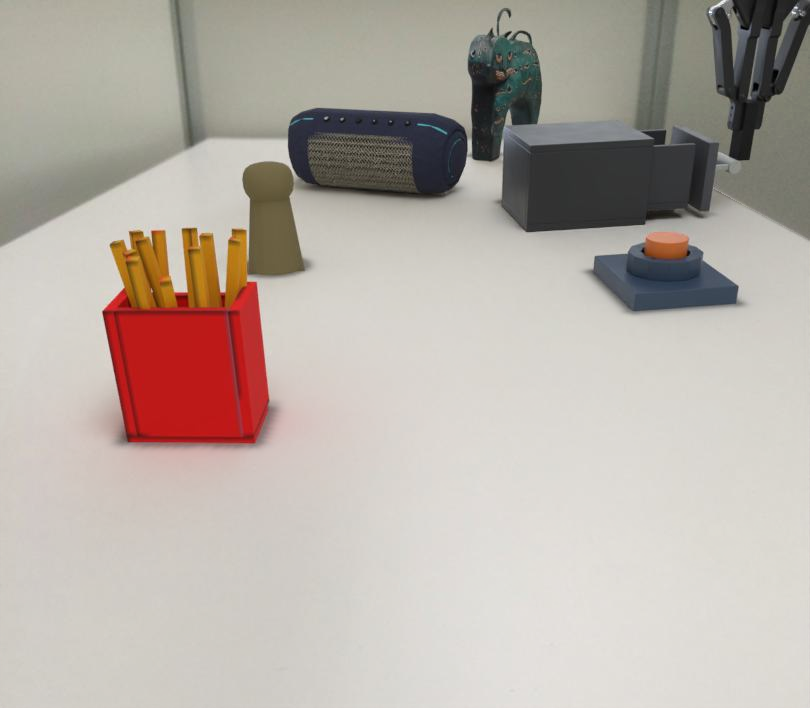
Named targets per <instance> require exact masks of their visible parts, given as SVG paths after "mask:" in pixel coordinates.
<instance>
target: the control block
mask: <svg viewBox="0 0 810 708" xmlns="http://www.w3.org/2000/svg"><path fill="white" fill-rule="evenodd" d="M644 250H645V241H644V242H640V243H638V244H634V245H631V246H630V248H629V249H628V251H627V253H617V254H616V253H615V254H601V255H600V254H599V255H594V259H593V270H592V273H593V274H594V275H595V276H596V277H597V278H598V279H599V280H600V281H601V282H602V283H604V285H605V286H606V287H608V288H609V289H610V291H612V292H613V293H614V294H615V295H616V296H617V297H618V298H619V299H620V301H622V302H623V303H624V304H625V305H626V306H627V307H628V308H629V309H630V310H631V311H632V312H643V311H645V312H647V311H657V310H659V311H661V310H671V309H672V310H673V309H684V308H697V307H712V306H724V305H725V306H726V305H736V304H737V301H738V294H739V288H740V286H739V284H737V283H735V282H734V281H732V280H731V279H730V278H729V277H727V276H725V275H724V274H723V273H722V272H720V271H718V270H717V269H716V268H714V267H713V266H712V265H710V264H709V263H707V262H706V261H705V260H704V250H701V249H700V248H698V247H697V246H695V245H691V244H688V250H687V256H686V257H683V258H675V259H664V258H654V257H650V256H647V255H645V254H644Z"/></svg>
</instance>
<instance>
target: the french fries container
mask: <svg viewBox="0 0 810 708" xmlns="http://www.w3.org/2000/svg"><path fill="white" fill-rule="evenodd" d="M166 232H167V231H166V229H154V230H150V234H151V238H150V236H149V235H148V236H145V234H144V231H143V230H141V229H136V230H135V229H134V230H128V235H129V243H130V249H128V248H127V246H126V242H125V240H124V239H118V240H115V241H112V242H110V243H109V248H110V251H111V254H112V256H113V260H114V261H115V265H116V267H117V270H118V273H119V276H120V278H121V281H122V283H123V288H122V289H121V290H120V292H118V293H117V295H116V296H115V297H114V298H113V299H112V300H111V301H110V302H109V303H108V304H107V305H106V307H104V309H102V311H101V313H102V314H101V315H102V318H103V323H104V328H105V333H106V338H107V343H108V344H107V345H108V349H109V354H110V359H111V364H112V370H113V374H114V379H115V384H116V390H117V394H118V399H119V404H120V410H121V414H122V419H123V420H122V421H123V424H124V429H125V435H126V440H127V443H158V444H159V443H162V444H163V443H165V444H166V443H167V444H169V443H172V444H173V443H174V444H178V443H179V444H181V443H182V444H183V443H184V444H256V441H257V439H258V436H259V434H260V431H261V429H262V427H263V424H264V422H265V420H266V417H267V415H268V412H269V406H268V405H269V403H270V394H269V383H268V375H267V366H266V365H267V364H266V355H265V347H264V346H265V345H264V337H263V329H262V318H261V309H260V300H259V290H258V282H257V281H248V247H247V246H248V242H247V241H248V240H247V235H248V234H247V232H248V231H247V229H245V228H243V227H242V228H239V227H237V228H231V236H230V237H229V239H228V240H227V257H226V276H225V291H221V285H220V277H219V271H218V269H219V268H218V262H217V254H216V245H215V239H214V238H215V237H214V233H213V232H201V233H200V234H199V233H198V227H182V228H181V239H182V249H183V257H184V268H185V269H184V271H185V280H186V291H185V292H183V291H182V292H181V291H178V292H177V291H176V292H175V289H174V285H173V280H172V277H171V275H170V266H169V255H168V245H167V233H166Z"/></svg>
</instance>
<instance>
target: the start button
mask: <svg viewBox="0 0 810 708" xmlns="http://www.w3.org/2000/svg"><path fill="white" fill-rule="evenodd" d="M644 242H645V250H644V254H645V255H647V256H650V257H654V258H664V259H675V258H683V257H686V256H687V250H688V245H689V242H690V237H689V236H688V235H686V234H684V233H680V232H676V231H653V232H650V233H647V234H646V236H645V241H644Z"/></svg>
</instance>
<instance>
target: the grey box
mask: <svg viewBox="0 0 810 708" xmlns="http://www.w3.org/2000/svg"><path fill="white" fill-rule="evenodd" d="M638 130H639V129H637V128H635V127H632V126H630V125H628V124H626V123H625V122H622V121H621V120H618V119H611V120H610V119H609V120H608V119H607V120H591V121H590V120H589V121H588V120H587V121H570V122H552V123H550V122H549V123H537V124H530V125H512V124H511V125H504V128H503V147H502V149H503V151H502V180H501V181H502V183H501V207H502V208H503V209H504V210H505V211H506V212H507V213H508V214H509V215H510V216H511V217H512V218H513V219H514V220H515V221H516V222H517V224H519V226H520V227H521V228H522V229H523V230H524V231H525V232H526V233H529V232H531V233H532V232H547V231H563V230H577V229H592V228H593V229H595V228H607V227H608V228H609V227H624V226H639V225H640V226H641V225H646V221H647V212H648V211H647V203H648V194H649V185H650V176H651V167H652V158H653V149H654V141H655V139H654V138H652V137H650V136H648V135H646V134H644V133H642V132H640V131H638Z"/></svg>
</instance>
